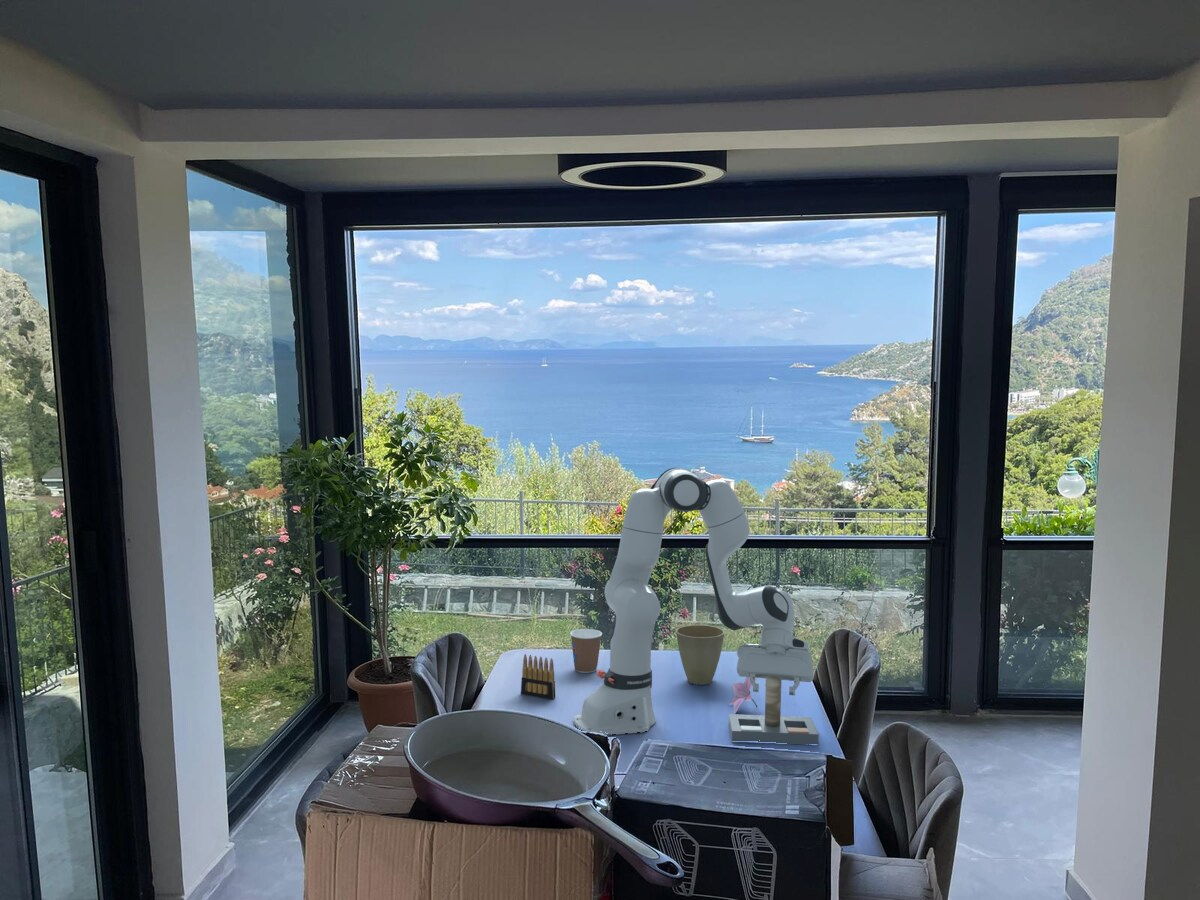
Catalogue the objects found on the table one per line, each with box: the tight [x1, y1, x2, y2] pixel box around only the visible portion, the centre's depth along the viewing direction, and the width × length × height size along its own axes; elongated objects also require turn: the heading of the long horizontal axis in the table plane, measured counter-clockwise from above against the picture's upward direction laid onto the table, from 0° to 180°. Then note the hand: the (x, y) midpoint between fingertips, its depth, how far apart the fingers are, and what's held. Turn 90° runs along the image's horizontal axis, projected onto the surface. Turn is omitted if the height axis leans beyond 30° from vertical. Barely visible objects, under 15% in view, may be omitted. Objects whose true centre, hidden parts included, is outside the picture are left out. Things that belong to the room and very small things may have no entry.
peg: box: [764, 677, 782, 727], centre depth 234 cm, size 4×4×12 cm
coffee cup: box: [569, 628, 603, 674], centre depth 287 cm, size 10×10×12 cm
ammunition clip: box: [520, 653, 556, 701], centre depth 262 cm, size 11×2×12 cm, turn 65°
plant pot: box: [675, 624, 725, 686], centre depth 277 cm, size 15×15×16 cm
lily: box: [728, 677, 759, 714], centre depth 254 cm, size 12×12×10 cm
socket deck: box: [728, 713, 820, 746], centre depth 234 cm, size 22×12×3 cm, turn 86°
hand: (773, 692), depth 235 cm, fingers open, 8 cm apart
